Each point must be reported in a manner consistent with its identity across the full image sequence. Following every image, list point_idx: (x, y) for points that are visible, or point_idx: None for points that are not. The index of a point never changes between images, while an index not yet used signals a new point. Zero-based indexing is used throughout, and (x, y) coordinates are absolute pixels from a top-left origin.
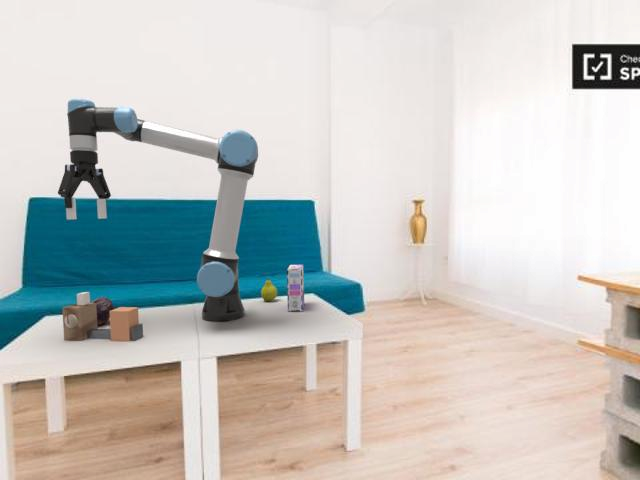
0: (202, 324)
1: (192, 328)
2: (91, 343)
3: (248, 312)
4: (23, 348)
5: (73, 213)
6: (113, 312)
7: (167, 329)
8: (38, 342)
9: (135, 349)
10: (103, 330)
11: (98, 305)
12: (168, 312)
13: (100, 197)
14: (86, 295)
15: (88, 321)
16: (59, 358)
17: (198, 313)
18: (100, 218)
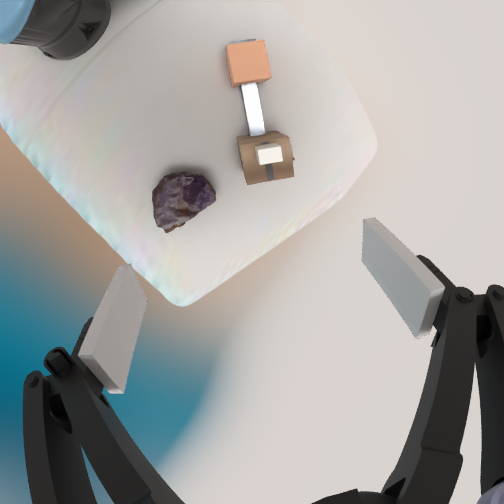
0: (131, 12)
1: (159, 8)
2: (284, 102)
3: None
4: (327, 186)
5: (389, 236)
6: (269, 69)
7: (175, 40)
8: (300, 192)
9: (289, 17)
10: (256, 104)
11: (186, 195)
12: (77, 139)
13: (99, 392)
14: (267, 147)
15: (262, 136)
16: (350, 96)
17: (67, 80)
18: (141, 290)
